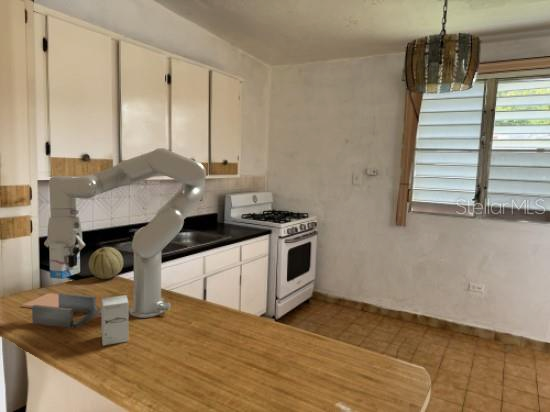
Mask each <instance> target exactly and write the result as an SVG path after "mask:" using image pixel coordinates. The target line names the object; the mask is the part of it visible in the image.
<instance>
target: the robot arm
mask: <svg viewBox="0 0 550 412" xmlns="http://www.w3.org/2000/svg"><path fill="white" fill-rule="evenodd" d="M160 175H163V176H165V177H167V178H170V179H173V180H176V181H179V182H181V183H182V185H181V187H180V188H179V189H178V190H177V192H176V193H175V194H174V195H173V196H172V197H171V198H170V200H168V201H167V202H166V203H165V204H164V205H163V206H162V207H160V208H159V209H158V211H157V212H156V214H155V216H154V217H153V218H152V219H151V220H150V221H149V222H148V223H147V224H146V225H145V226H142V227H140V228H138V230H136V232H135V233H134V235H133V238H132V243H131V248H132V252H133V305H132V306H131V307H130V308H129V315H130V316H132V317H134V318H138V319H139V318H141V319H142V318H143V319H146V318H147V319H149V318H154V317H158V316H160V315H162V314H163V313H165V311H170V310H171V307H172V305H171V302H165V299H164V297H162V251H163V250H164V248H166V247H167V245H168V244H169V243H171V241H173V239H174V238H176V236H177V235H178V234H179V233H180V231H181V230H182V228H183V226H184V223H185V221H184V220H185V219H186V218H187V217H188V216H189V214H190V213H192V211H193V210H194V209H195V208H196V206H198V205H199V203H200V202H201V200H202V198H203V197H204V195H205V189H206V177H207V171H206V168H205V166H204V165H203V164H202V163H201V162H199V161H196V160H193V159H191V158H188V157H186V156H183V155H181V154H178V153H176V152H174V151H171V150H170V149H167V148H164V147H158V148H155V149H154V150H152V151H149V152H146V153H143V154H140V155H137V156H134V157H131V158H128V159H125V160H123V161H121V162H119V163H118V164H116V165H113V166H112V167H109V168H106V169H103V170H101V171H97V172H95V173H92V174H89V175H84V176H79V177H78V176H77V177H73V176H69V175H67V176H66V175H65V176H64V175H59V176H58V175H55V176H51V177H49V181H48V183H49V184H48V187H49V206H50V207H49V209H50V214H49V215H50V216H49V218H48V223H47V238H46V239H45V241H44V243H43V244H44V246H45V247H46V248H48V250H49V244H51V243H52V242H57V243H64V244H66V245H67V247H68V249H69V252H70V256H69V267H74V266H76V265H77V254H79V252H80V253H81V251H82V250H83V249H84V248H85V247H86V243H85V242H84V241H83V232H82V226H81V221H80V217H79V216H77V215H79V213H80V211H79V210H77V203H76V202H77V199H84V200H88V199H92V198H94V197H96V196H99V195H100V194H103V193H106V192H108V191H112V190H114V189H118V188H120V187H125V186H131V185H134V184H137V183H140V182H143V181H146V180H148V179H151V178H153V177H157V176H160ZM76 242H77V244H76ZM77 245H79V246H78V247H77ZM73 249H74V251H73Z"/></svg>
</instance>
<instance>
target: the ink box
mask: <svg viewBox="0 0 550 412" xmlns="http://www.w3.org/2000/svg"><path fill="white" fill-rule="evenodd" d="M76 244H77V242H76ZM78 246H79V245H77V247H78ZM48 250H49V278H51V279H59V280H63V279H66V278H69V277H71V276H74V275H76V274H80V272H81V255H80V254H81V251H80V252H79V254H77V265H76V266H74V267H69V256H70V252H69V249H68V247H67V245H66V244H64V243H57V242H52V243H51V244H49V249H48ZM73 251H74V249H73Z"/></svg>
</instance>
